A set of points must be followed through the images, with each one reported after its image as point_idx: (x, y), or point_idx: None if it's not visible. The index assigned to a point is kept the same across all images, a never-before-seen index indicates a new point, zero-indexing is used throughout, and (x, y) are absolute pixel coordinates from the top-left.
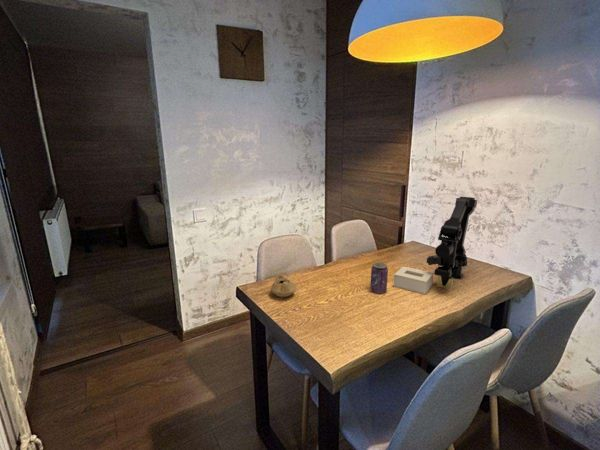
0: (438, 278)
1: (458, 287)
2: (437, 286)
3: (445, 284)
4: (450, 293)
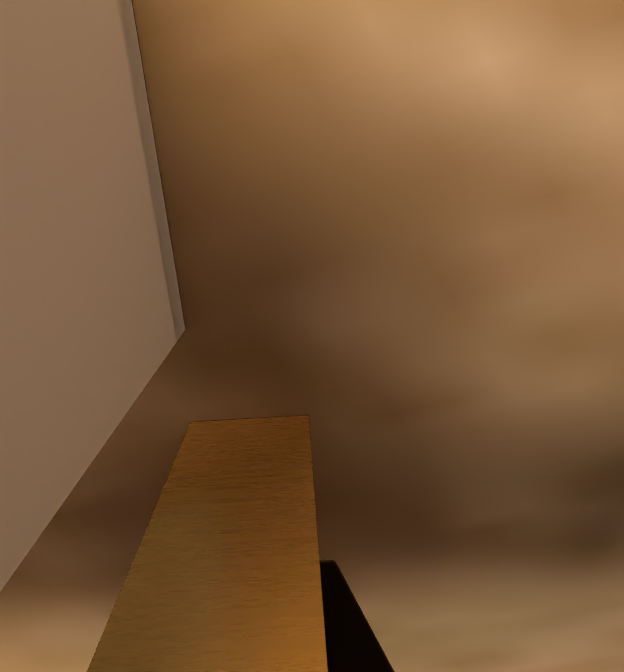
0: (112, 649)
1: (395, 659)
2: (193, 435)
3: None
4: (72, 645)
